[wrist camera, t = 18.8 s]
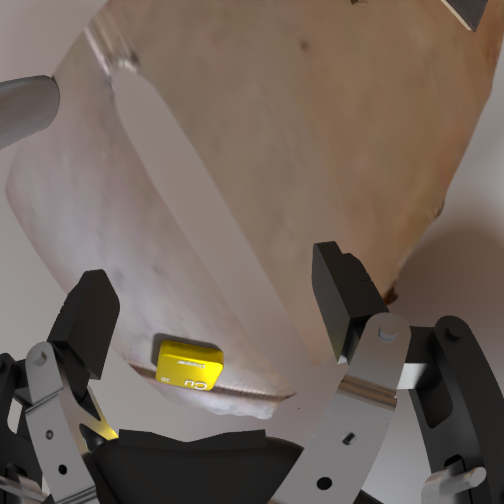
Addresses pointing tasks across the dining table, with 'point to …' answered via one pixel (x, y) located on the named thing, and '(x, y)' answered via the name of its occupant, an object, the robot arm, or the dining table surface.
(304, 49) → the dining table surface
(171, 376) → the yellow flat square block
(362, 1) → the keeper pocket
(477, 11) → the hardcover book
